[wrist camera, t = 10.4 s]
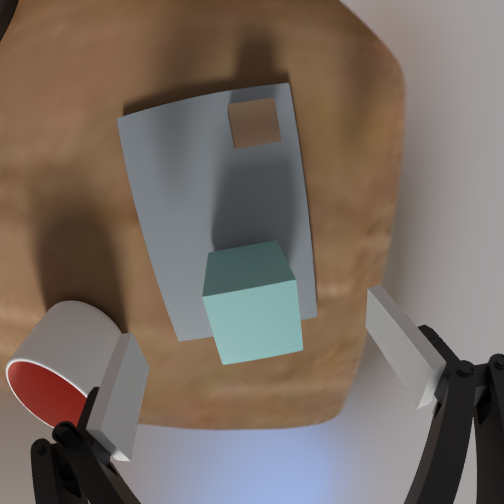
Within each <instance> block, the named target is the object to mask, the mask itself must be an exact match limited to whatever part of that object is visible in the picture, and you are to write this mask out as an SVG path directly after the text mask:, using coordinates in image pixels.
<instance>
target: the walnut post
mask: <svg viewBox="0 0 504 504" xmlns="http://www.w3.org/2000/svg"><path fill="white" fill-rule="evenodd" d="M228 119H229V124H230V130H231V135H232V141H233V147H234V148H235V149H237V148H243V147H249V146H255V145H261V144H268V143H275V142H282V141H281V135H280V129H279V123H278V117H277V111H276V106H275V100H274V98H268V99H260V100H253V101H246V102H239V103H233V104H228Z"/></svg>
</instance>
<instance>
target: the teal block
mask: <svg viewBox="0 0 504 504" xmlns="http://www.w3.org/2000/svg"><path fill="white" fill-rule="evenodd" d="M202 298H203V302H204V305H205V308H206V312H207V315H208V319H209V322H210V325H211V329H212V332H213V335H214V339H215V342H216V345H217V348H218V351H219V355H220V358H221V361H222V364H223V365H226V364H232V363H239V362H245V361H251V360H256V359H262V358H267V357H272V356H278V355H283V354H287V353H292V352H297V351H301V350H303V343H302V332H301V321H300V311H299V301H298V292H297V283H296V278H295V276H294V274H293V272H292V270H291V268H290V266H289V264H288V262H287V260H286V258H285V256H284V254H283V252H282V249H281V247H280V245H279V243H278V241H277V240H273V241H268V242H263V243H257V244H252V245H247V246H241V247H236V248H230V249H225V250H220V251H215V252H209V253H208V258H207V265H206V272H205V280H204V287H203V295H202Z"/></svg>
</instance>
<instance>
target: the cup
mask: <svg viewBox="0 0 504 504" xmlns="http://www.w3.org/2000/svg"><path fill="white" fill-rule="evenodd" d="M120 334H122V333H121V331H120V330H119V328H118V327H117V326H116V324H115V323H114V322H113V321H112V320H111V319H110V318H109V317H108V316H107V315H106V314H104V313H103V312H102V311H100V310H99V309H97V308H95V307H94V306H91V305H89V304H87V303H84V302H80V301H63V302H60V303H57V304H55V305H54V306H53V307H51V308H50V309H49V310H48V311H47V313H46V314H45V315H44V316H43V317H42V319H41V320H40V321H39V322H38V324H37V325H36V326H35V327H34V329H33V330H32V331H31V332H30V334H29V335H28V336H27V337H26V339H25V340H24V341H23V343H22V344H21V345H20V347H19V348H18V349H17V351H16V352H15V353H14V355H13V356H12V357H11V359H10V360H9V362H8V363H7V366H6V376H7V380H8V383H9V385H10V387H11V389H12V391H13V392H14V394H15V395H16V397H17V398H18V399H19V401H20V402H21V403H22V404H23V405H24V406H25V407H26V408H27V409H28V410H29V411H30V412H31V413H32V414H33V415H35V416H36V417H37V418H39V419H40V420H41V421H43V422H44V423H46V424H48V425H49V426H51V427H53V428H55V426H56V425H57V424H58V423H60V422H63V421H70V422H72V423H73V424H74V425H75V427H77V424H78V421H79V418H80V415H81V412H82V410H83V407H84V404H85V403H86V402H85V401H86V399H87V396H88V394H89V392H90V391H91V390H92V389H93V388H94V387H100V386H101V383H102V380H103V377H104V375H105V372H106V369H107V367H108V364H109V362H110V359H111V356H112V354H113V351H114V349H115V346H116V344H117V341H118V339H119V337H120Z"/></svg>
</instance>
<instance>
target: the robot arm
mask: <svg viewBox="0 0 504 504" xmlns="http://www.w3.org/2000/svg"><path fill="white" fill-rule="evenodd" d="M16 3H17V0H0V39H1V38H2V36H3V34H4V32H5V30H6V28H7V26H8V24H9V22H10V19H11V17H12V14H13V12H14V9H15V6H16ZM366 328H367V330H368V331H369V333H370V334H371V336H372V337H373V339H374V340H375V342H376V343H377V345H378V347H379V348H380V350H381V351H382V353H383V354H384V356H385V357H386V359H387V361H388V362H389V364H390V365H391V367H392V368H393V370H394V372H395V373H396V375H397V376H398V378H399V380H400V381H401V383H402V384H403V386H404V387H405V389H406V391H407V392H408V394H409V396H410V398H411V399H412V401H413V402H414V404H415V405H416V407H417V408H420V407H422V406H425V405H427V404H429V403H430V402H431V401H432V398H433V396H435V397H436V398H437V400H438V401H437V403H436V405H435V407H434V409H433V411H432V413H433V414H434V415H433V419H432V423H431V427H430V431H429V434H428V438H427V441H426V444H425V448H424V451H423V454H422V457H421V460H420V463H419V466H418V469H417V472H416V475H415V477H414V480H413V483H412V485H411V488H410V491H409V493H408V495H407V497H406V500H405V502H404V504H453V502H454V499H455V496H456V493H457V490H458V486H459V483H460V479H461V475H462V471H463V467H464V463H465V458H466V454H467V449H468V444H469V438H470V433H471V426H472V418H473V417H474V427H475V438H476V454H477V501H476V504H504V355H503V354H495V355H493V356H491V357H490V360H489V362H488V363H485V364H480V365H473V364H472V363H471V362H469V361H465V360H461V361H460V360H459V359H458V357H457V356H456V355H455V354H454V353H453V351H452V350H451V349H450V348H449V347H448V346H447V345H446V343H445V342H443V340H442V339H441V338H440V337H439V335H438V334H437V333H436V332H435V331H434V330H433V329H432V328H430V327H428V326H426V325H422V326H419V327H417V326H416V325H415V324H414V323H413V322H412V321H411V320H410V318H409V317H408V316H407V315H406V314H405V313H404V311H403V310H402V309H401V308H400V307H399V306H398V305H397V304H396V302H395V301H394V300H393V299H392V298H391V297H390V296H389V295H388V294H387V293H386V292H385V290H384V289H383V288H382V287H381V286H380V285H378V286H374V287H371V288H368V295H367V313H366ZM149 368H150V367H149V365H148V363H147V361H146V359H145V357H144V355H143V353H142V351H141V349H140V347H139V345H138V343H137V341H136V339H135V337H134V335H133V333H124V334H120V337H119V339H118V341H117V344H116V346H115V349H114V351H113V354H112V356H111V359H110V362H109V364H108V367H107V369H106V372H105V375H104V377H103V380H102V383H101V386H100V387H94V388H93V389H92V390H91V391H90V392H89V394H88V396H87V399H86V401H85V402H86V403H85V404H84V407H83V410H82V412H81V415H80V418H79V421H78V424H77V427H75V425H74V424H73V423H72V422H70V421H63V422H60V423H58V424H57V425H56V426H55V428H54V429H53V432H52V438H53V439H54V440H55V441H56V442H57V443H55V444H51V443H50V442H49V441H47V440H46V439H44V438H42V439H38V440H36V441H35V442H34V443H33V445H32V446H31V465H32V477H33V486H34V494H35V501H36V504H89V503H88V500H89V502H90V504H141V503H140V502H139V500H138V499H137V498H136V497H135V495H134V494H133V493H132V491H131V490H130V489H129V487H128V486H127V484H126V483H125V482H124V480H123V479H122V477H121V476H120V474H119V473H118V471H117V470H116V468H115V467H114V465H113V463H112V462H111V461H110V456H111V455H112V456H113V457H114V458H115V459H116V460H120V461H131V457H132V451H133V445H134V440H135V434H136V429H137V424H138V419H139V414H140V409H141V404H142V399H143V395H144V390H145V386H146V381H147V377H148V373H149ZM87 499H88V500H87Z"/></svg>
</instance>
